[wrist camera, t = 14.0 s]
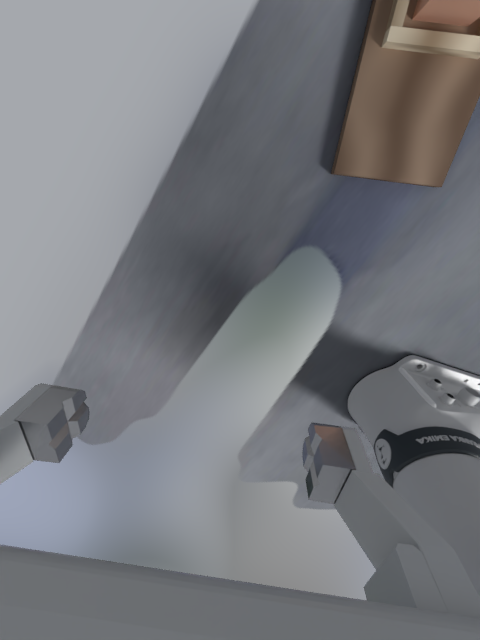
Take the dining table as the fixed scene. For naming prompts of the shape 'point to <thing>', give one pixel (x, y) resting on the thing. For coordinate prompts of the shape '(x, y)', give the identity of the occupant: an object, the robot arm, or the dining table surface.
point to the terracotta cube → (447, 11)
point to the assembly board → (409, 97)
